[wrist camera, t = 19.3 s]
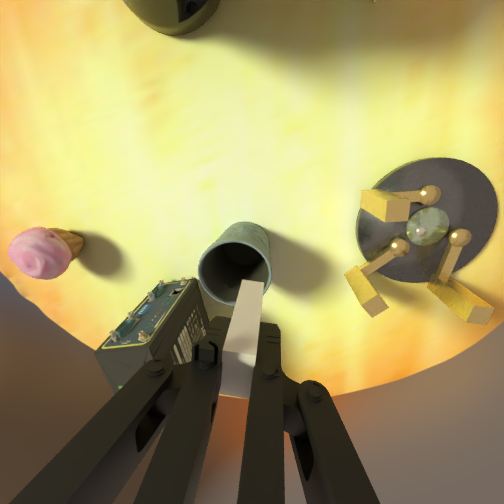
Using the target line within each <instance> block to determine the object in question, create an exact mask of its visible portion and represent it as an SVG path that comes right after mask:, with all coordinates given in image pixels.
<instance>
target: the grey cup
mask: <svg viewBox="0 0 504 504" xmlns="http://www.w3.org/2000/svg"><path fill="white" fill-rule="evenodd" d="M198 276H199V280H200V282H201V285H202V286H203V288H204V290H205V291H206V292H207V293H208V294H209V295H210V296H211V297H212V298H213V299H215V300H217V301H219V302H221V303H223V304H226V305H231V306H235V304H236V300H237V297H238V293H239V290H240V286H241V283H242V280H249V281H256V282H264V289H263V295H264V294H265V293H266V291H267V290H268V288H269V286H270V283H271V279H272V270H271V263H270V251H269V240H268V237H267V235H266V233H265V232H264V231H263V230H262V229H261V228H260V227H259V226H257V225H256V224H253V223H250V222H238V223H235V224H233V225H231V226H230V227H229V228H228V229H227V230H226V231H225V232H224V233H223V234H222V235H221V236H220V237H219V238H218V239H217V241H216V242H214V243H213V244H212V245H211V246H210V247H209V248H208V249H207V250H206V251H205V252H204V253H203V255H202V257H201V259H200V262H199V265H198Z"/></svg>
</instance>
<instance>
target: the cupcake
mask: <svg viewBox="0 0 504 504" xmlns="http://www.w3.org/2000/svg"><path fill="white" fill-rule="evenodd" d="M83 244H84V240H83V238H82V237H80V236H78V235H75V234H72V233H70V232H68V231H66V230H62V229H58V228H49V229H46V228H43V227H34V228H31V229H28V230H26V231H24V232H22V233H20V234H18V235H17V236H16V237H15V238H14V239H13V240H12V242H11V244H10V246H9V249H8V256H9V258H10V260H11V261H12V262H13V263H14V264H15V265H16V266H17V267H18V268H19V269H20V271H22V272H23V273H25V274H26V275H28V276H31V277H32V278H35V279H45V280H48V279H53V278H56V277H58V276H60V275H61V274H63V273H64V272H65V271H66V270H67V268H68V266H69V264H70V262H71V261H72V260H74V259H75V258H76V257H77V256H78V254H79V252H80V250H81V247H82V246H83Z"/></svg>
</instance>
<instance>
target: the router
mask: <svg viewBox="0 0 504 504" xmlns="http://www.w3.org/2000/svg"><path fill="white" fill-rule="evenodd" d="M147 294H148V295H147V297H146V298H145V299H144V300H143V301H142V302H141V303H140V304H139V305H138V306H137V307H136V308H135V309H134V310H133V311H131V312H129V313H128V317H127V318H126V319H125V320H124V321H123V322H122V323H121V324H120V325H119V326H118V327H117V329H116V330H112V331H111V332H110V336H109V337H108V338H107V339H106V340H105V341H104V342H103V343H102V344H101V346H100V347H99V348H98V349H97V350H96V351H95V352H94V355H95V356H96V358H97V360H98V362H99V364H100V366H101V368H102V370H103V372H104V373H105V376H106V378H107V380H108V382H109V384H110V385H111V387H112V389H113V391H114V393H115V394H116V393H117V392H118V391H119V390H120V389H121V388H122V387H123V386H124V385H125V384H126V383H127V382H128V381H129V380H130V378H131V377H132V376H133V375H134V374H135V373H136V372H137V371H138V370H139V369H140V368H141V367H142V366H143V365H144V364H145V363H147V362H148V361H149V360H152V359H154V358H166V359H168V360H169V361H171V363H172V365H177V364H184V363H187V362H190V361H191V360H192V346H193V345H194V343H196V342H197V341H199V340H202V339H204V337H205V335H206V332H207V330H208V327H209V325H210V323H209V320H208V317H207V313H206V310H205V307H204V304H203V300H202V297H201V294H200V290H199V287H198V284H197V281H196V279H188V280H186V279H185V278H182V281H175V282H168V283H164V282H163V280H160V281H159V284H158V285H157V286H156V287H155V288H154V289H153V290H152V291H150V292H148V293H147ZM164 427H165V426H164ZM163 430H164V428H163V429H162V430H161V432H160V433H162V432H163Z"/></svg>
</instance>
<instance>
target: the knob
mask: <svg viewBox="0 0 504 504" xmlns="http://www.w3.org/2000/svg"><path fill="white" fill-rule="evenodd" d="M409 249H410V245H409V243H408V242H407V241H405V240H404V239H402V238H395V239H393V240H391V241H390V242H389V244H388V248H386V249H385V250H383V251H382V252H380V253H379V254H378V255H376V256H375V257H373V258H372V259H370V260H369V261H367V262H366V263H365V264H363V265H362V266H360V267H358V266H356V267H354V268H353V269H351V270H350V271H348V272H347V273H345V274H344V276H345V277H346V279H347V281H348V283H349V285H350V286H351V288H352V290H353V292H354V294H355V295H356V297H357V299H358V301H359V303H360V304H361V306H362V307H363V308H364V309H365V310H366V311H367V313H368V314H369V315H370V316H371V317H372V318H373V317H374V316H376V315H377V314H379V313H381V312H382V311H384V310H386V309H387V308H389V307H388V305H387V304H386V303H385V301H384V300H383V299H382V297H381V296H380V295H379V293H378V292H377V290H376V289H375V288H374V286H373V285H372V284H371V282H370V281H369V280H368V278H367V276H368V275H369V274H371V273H372V272H374V271H375V270H377V269H378V268H380V267H381V266H383V265H384V264H386V263H387V262H389V261H390V260H392V259H393V258H395V257H402V256H404V255H406V254H407V253H408V252H409Z"/></svg>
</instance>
